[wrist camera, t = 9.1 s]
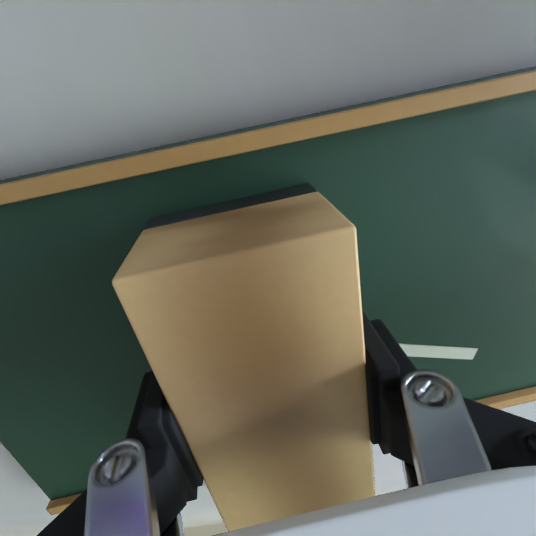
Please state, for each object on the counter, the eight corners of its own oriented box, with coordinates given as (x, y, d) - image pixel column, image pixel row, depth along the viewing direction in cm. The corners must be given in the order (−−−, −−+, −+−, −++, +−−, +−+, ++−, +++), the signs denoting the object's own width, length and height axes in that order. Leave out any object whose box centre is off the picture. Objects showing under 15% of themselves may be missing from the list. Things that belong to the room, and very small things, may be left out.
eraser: (230, 439, 15) (233, 545, 11) (148, 218, 10) (107, 281, 7) (340, 412, 15) (377, 510, 11) (310, 182, 10) (357, 225, 7)
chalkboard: (65, 480, 17) (50, 515, 15) (-147, 211, 10) (-206, 229, 9) (568, 362, 17) (599, 385, 16) (666, 38, 11) (734, 28, 9)
